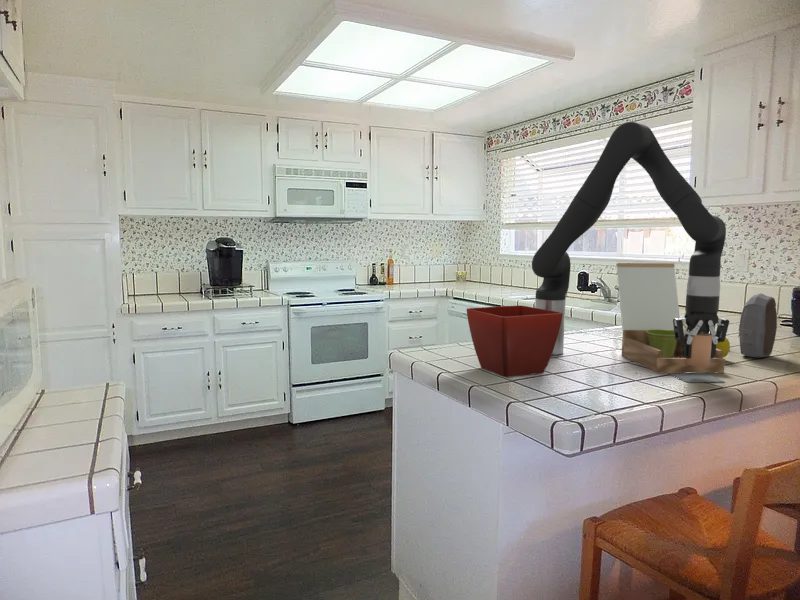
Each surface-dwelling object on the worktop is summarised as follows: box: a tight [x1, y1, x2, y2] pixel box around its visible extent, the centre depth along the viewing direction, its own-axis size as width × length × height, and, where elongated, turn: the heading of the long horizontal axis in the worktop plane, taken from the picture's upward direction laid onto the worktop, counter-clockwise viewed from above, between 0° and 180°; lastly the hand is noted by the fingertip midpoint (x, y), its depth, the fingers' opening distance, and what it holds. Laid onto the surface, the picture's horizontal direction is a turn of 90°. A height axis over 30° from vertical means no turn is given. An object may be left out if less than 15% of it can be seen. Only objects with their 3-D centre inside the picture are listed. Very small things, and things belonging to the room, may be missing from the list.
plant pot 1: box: [466, 305, 563, 378], centre depth 148 cm, size 19×19×17 cm
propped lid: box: [615, 262, 681, 332], centre depth 174 cm, size 18×12×29 cm, turn 92°
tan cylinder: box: [686, 331, 712, 367], centre depth 141 cm, size 6×6×8 cm
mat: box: [669, 373, 726, 383], centre depth 142 cm, size 10×8×1 cm
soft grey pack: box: [737, 293, 778, 358], centre depth 169 cm, size 15×8×20 cm, turn 129°
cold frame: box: [621, 330, 726, 374], centre depth 158 cm, size 18×22×8 cm
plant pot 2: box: [646, 330, 677, 358], centre depth 163 cm, size 9×9×9 cm
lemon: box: [716, 337, 731, 358], centre depth 164 cm, size 6×6×8 cm
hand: (698, 357), depth 141 cm, fingers closed on tan cylinder, 5 cm apart
